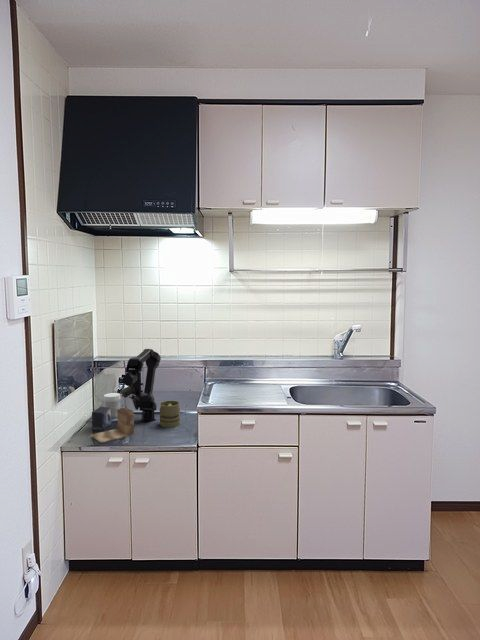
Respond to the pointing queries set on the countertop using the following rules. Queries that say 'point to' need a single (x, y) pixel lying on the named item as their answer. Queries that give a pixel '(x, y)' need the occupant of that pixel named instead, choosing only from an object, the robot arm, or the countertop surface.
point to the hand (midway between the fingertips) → (136, 409)
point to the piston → (169, 414)
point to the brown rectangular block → (125, 421)
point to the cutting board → (108, 435)
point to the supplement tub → (113, 404)
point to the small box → (101, 418)
